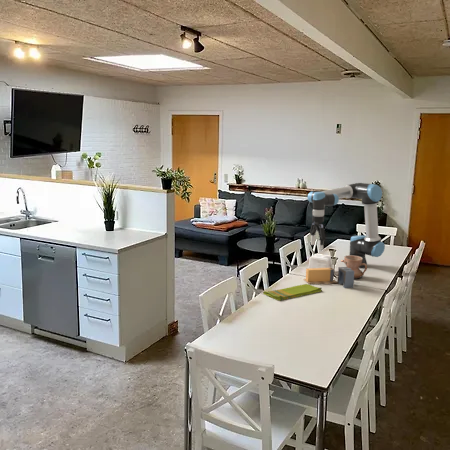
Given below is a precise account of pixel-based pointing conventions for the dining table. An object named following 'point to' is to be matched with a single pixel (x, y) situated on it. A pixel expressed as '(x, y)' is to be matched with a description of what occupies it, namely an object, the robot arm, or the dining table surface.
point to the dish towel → (292, 292)
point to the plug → (319, 274)
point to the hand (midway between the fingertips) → (316, 247)
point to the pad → (322, 282)
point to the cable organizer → (320, 261)
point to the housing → (346, 277)
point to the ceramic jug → (355, 265)
